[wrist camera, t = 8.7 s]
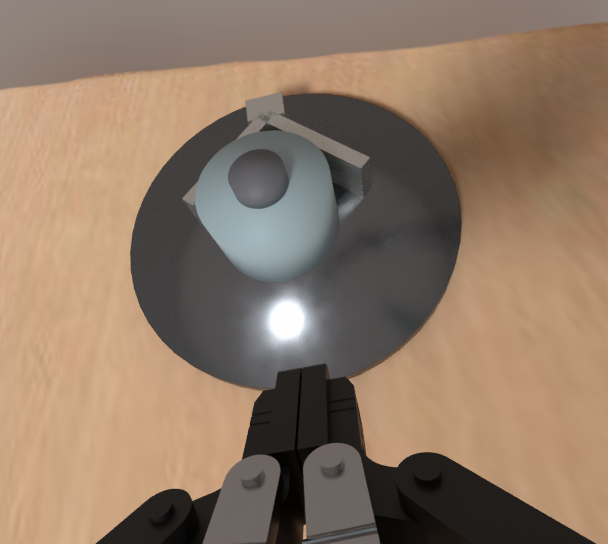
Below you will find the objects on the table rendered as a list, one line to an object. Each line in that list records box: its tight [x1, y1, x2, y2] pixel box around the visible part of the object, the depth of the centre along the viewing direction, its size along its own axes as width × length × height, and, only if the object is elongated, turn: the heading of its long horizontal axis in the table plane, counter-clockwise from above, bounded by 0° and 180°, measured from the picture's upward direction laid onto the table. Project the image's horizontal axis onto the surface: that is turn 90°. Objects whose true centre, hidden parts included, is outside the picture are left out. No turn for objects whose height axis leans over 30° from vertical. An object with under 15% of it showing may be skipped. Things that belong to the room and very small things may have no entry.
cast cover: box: [195, 130, 339, 282], centre depth 34 cm, size 10×10×8 cm
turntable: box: [130, 92, 461, 391], centre depth 37 cm, size 28×28×6 cm
